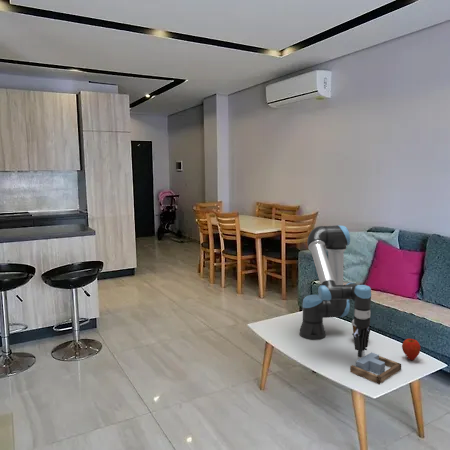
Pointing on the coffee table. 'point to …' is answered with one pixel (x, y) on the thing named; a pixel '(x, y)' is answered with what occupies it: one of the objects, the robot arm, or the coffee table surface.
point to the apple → (411, 348)
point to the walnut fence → (382, 377)
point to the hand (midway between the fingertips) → (360, 362)
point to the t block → (371, 363)
